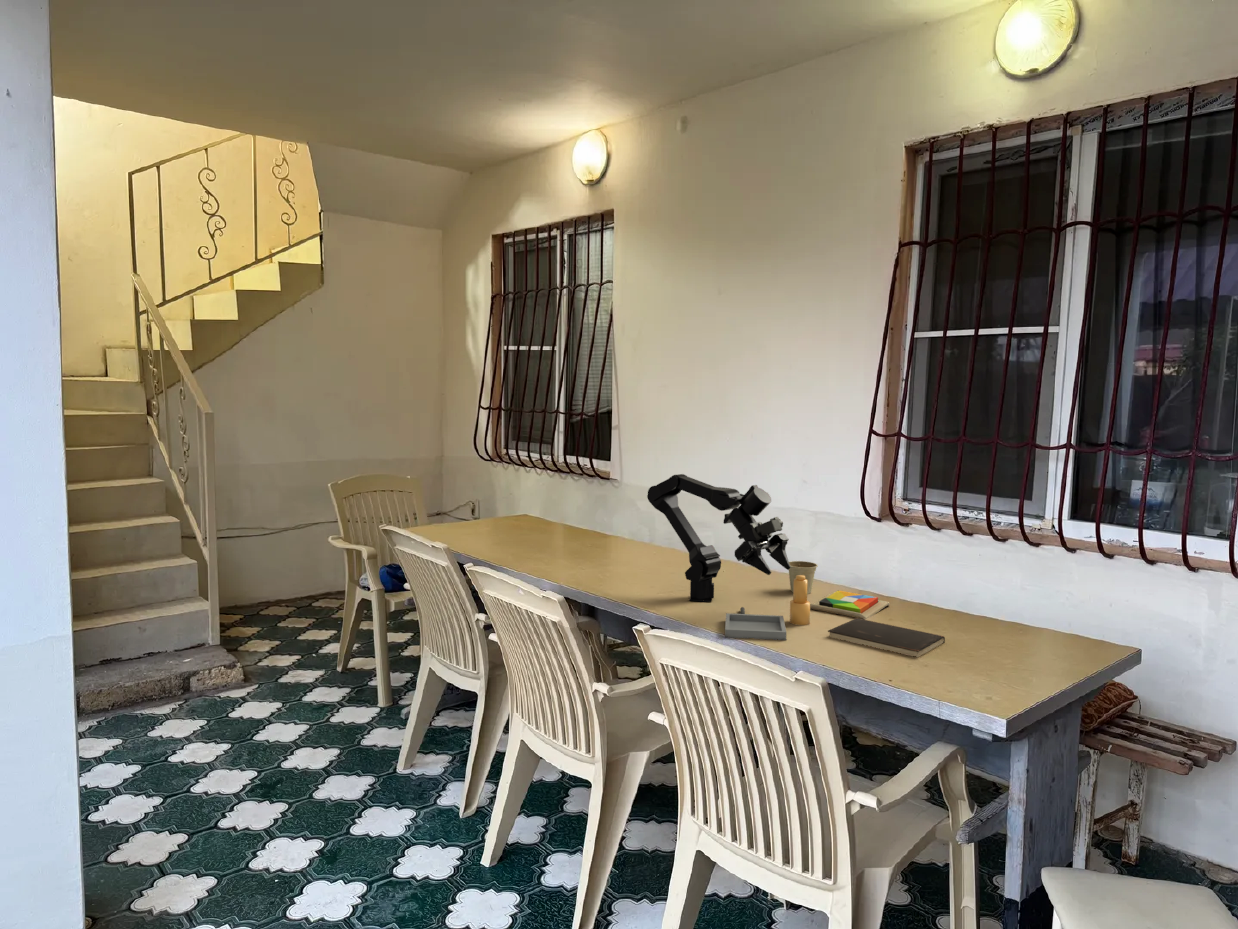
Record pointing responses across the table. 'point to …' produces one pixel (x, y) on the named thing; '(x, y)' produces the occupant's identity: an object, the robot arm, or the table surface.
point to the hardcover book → (887, 637)
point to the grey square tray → (755, 626)
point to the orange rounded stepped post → (800, 602)
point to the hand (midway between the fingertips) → (779, 571)
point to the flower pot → (802, 572)
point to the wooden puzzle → (850, 604)
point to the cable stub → (742, 610)
